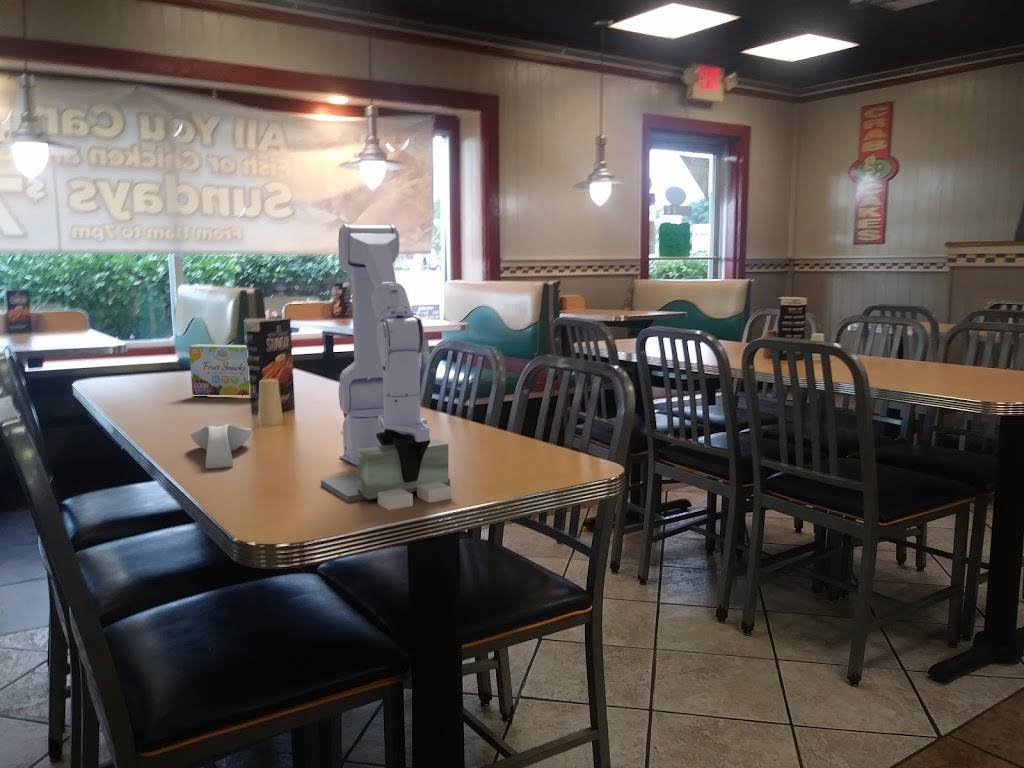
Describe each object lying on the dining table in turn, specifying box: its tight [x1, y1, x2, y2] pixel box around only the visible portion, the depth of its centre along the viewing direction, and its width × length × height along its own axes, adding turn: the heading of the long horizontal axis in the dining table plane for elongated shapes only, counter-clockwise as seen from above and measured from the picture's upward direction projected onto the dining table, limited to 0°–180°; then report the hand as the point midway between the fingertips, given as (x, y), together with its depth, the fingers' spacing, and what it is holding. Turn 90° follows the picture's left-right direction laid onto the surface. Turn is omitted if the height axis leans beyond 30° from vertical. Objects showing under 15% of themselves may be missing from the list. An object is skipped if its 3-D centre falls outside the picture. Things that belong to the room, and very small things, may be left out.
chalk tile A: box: [377, 488, 414, 511], centre depth 122 cm, size 4×4×2 cm
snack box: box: [188, 343, 249, 396], centre depth 229 cm, size 21×6×15 cm, turn 81°
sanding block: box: [357, 438, 449, 500], centre depth 127 cm, size 4×14×7 cm, turn 124°
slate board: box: [320, 473, 451, 503], centre depth 133 cm, size 12×18×1 cm, turn 124°
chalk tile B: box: [416, 482, 452, 503], centre depth 126 cm, size 4×4×2 cm
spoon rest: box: [190, 423, 253, 470], centre depth 156 cm, size 24×12×7 cm, turn 19°
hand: (403, 478), depth 127 cm, fingers closed on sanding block, 4 cm apart
